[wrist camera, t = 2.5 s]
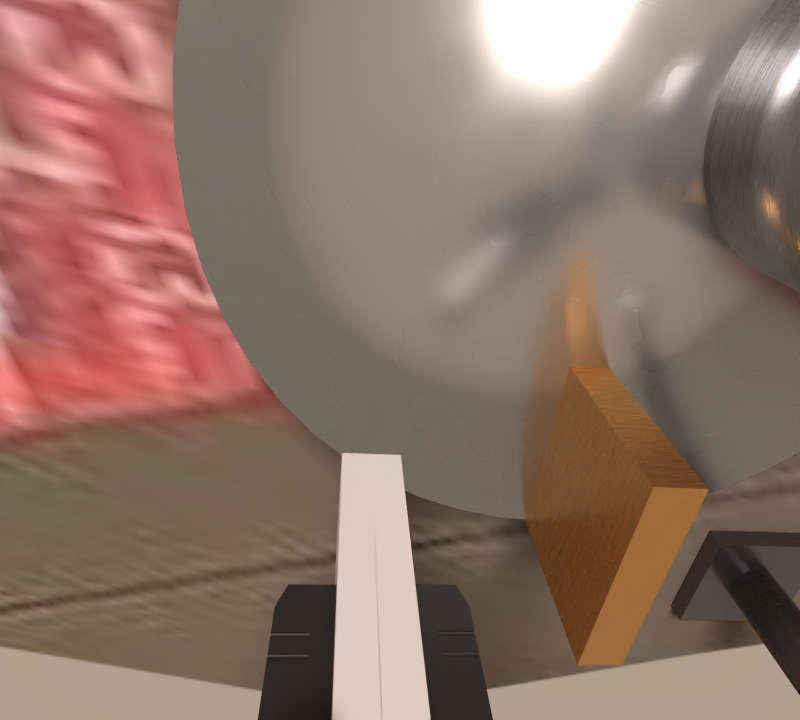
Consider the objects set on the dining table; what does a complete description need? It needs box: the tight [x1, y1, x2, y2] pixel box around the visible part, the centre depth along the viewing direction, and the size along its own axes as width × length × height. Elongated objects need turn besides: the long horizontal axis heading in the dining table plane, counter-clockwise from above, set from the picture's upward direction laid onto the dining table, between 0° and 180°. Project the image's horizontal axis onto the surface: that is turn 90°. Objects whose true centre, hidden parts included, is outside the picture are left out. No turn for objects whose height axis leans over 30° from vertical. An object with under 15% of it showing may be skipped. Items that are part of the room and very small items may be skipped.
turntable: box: [173, 0, 800, 665], centre depth 12 cm, size 22×22×7 cm
